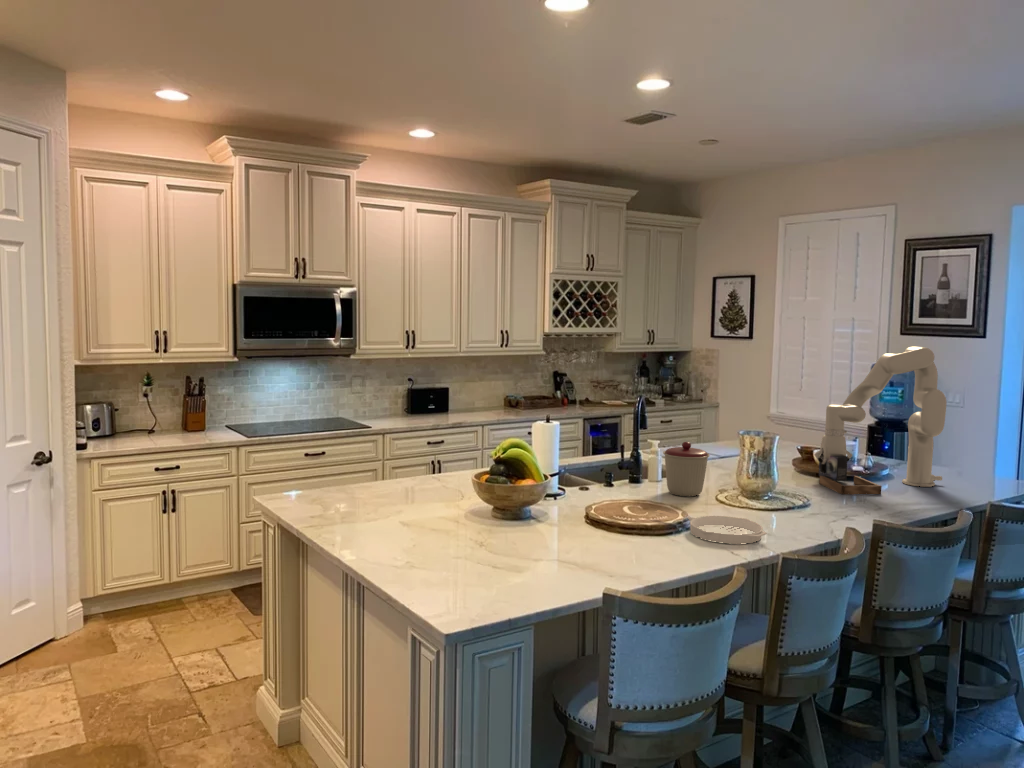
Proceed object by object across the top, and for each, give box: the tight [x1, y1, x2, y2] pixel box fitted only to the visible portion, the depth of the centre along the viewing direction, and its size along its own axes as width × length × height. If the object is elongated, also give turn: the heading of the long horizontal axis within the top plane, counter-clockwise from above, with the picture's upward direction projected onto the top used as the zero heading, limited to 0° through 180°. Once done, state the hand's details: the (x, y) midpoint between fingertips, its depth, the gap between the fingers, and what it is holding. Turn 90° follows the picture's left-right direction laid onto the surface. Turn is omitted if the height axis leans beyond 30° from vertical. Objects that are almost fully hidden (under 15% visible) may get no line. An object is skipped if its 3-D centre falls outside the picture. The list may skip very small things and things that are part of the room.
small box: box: [818, 454, 848, 482], centre depth 340 cm, size 11×6×10 cm, turn 24°
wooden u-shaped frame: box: [819, 475, 882, 495], centre depth 324 cm, size 16×20×4 cm
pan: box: [686, 515, 767, 544], centre depth 258 cm, size 24×41×4 cm, turn 42°
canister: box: [662, 441, 710, 497], centre depth 309 cm, size 18×18×21 cm
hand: (832, 472), depth 340 cm, fingers closed on small box, 7 cm apart
